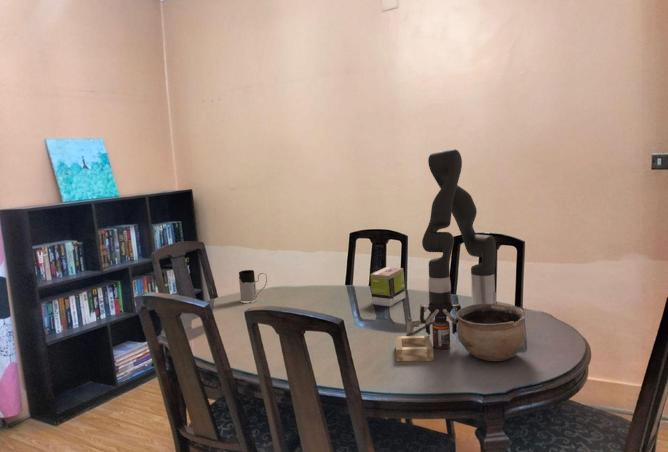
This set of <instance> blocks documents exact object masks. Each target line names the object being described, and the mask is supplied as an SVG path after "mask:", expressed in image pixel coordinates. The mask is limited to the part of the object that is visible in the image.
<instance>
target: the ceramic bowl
mask: <svg viewBox="0 0 668 452" xmlns="http://www.w3.org/2000/svg"><path fill="white" fill-rule="evenodd" d="M455 318H457V319H458V323H457V332H456V333H457V337H458V340H459V342H460V344H461V345H462V346H463V348H464V349H465V350H466V351H467V352H469V353H470V354H471V355H473V356H474V357H476V358H477V359H481V360H483V361H490V362H501V361H502V362H503V361H507V360H509V359H511V358H513V357H514V356H516V355H517V354H518V353H519V352H520V350H521V349H522V348H523V347H524V344H525V342H526V339H527V338H526V337H527V328H526V323H525V319H526V311H524V309H523V308H520V307H517V306H510V305H505V304H499V303H496V304H489V303H484V304H475V305H472V304H471V305H467V306H464V307H461V309H460V310H458V311H456V313H455Z"/></svg>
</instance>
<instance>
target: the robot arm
mask: <svg viewBox="0 0 668 452" xmlns="http://www.w3.org/2000/svg"><path fill="white" fill-rule="evenodd" d="M427 159H428V161H427V162H428V167H429V170H430V172H431V175H432V176H433V178H434V180H435V182H436V184H437V185H438V186H439V188H440V190H438V193H436V195H435V197H434V199H433V201H432V205H431V209H430V210H431V211H430V217H429V218H430V219H429V223H428V225H427V227H426V230H425V231H424V234H423V237H422V243H421V244H422V247H423V250H424V251H425V252H426V253H442V256H440V257H436V258H431V259H429V261H428V304H427V305H423V304H420V306H419V320H420V322H421V323H424V324H423V325H425V333H426V334H427V336H430V335H431V324H430V322H431V320H433V318H435V317H443V316H446V317H447V318H448V319H449V320H450V321H451V333H452V334H453V335H456V333H457V326H458V319H457V317H455V316H454V315H453V314H452V313H451V312H452V310H453V309H454V311H455V312H457V311H458V310H460V309H462V307H461V304H460V303H456V304H452V284H451V283H452V282H451V277H450V276H451V275H450V273H451V272H450V270H451V269H450V263H451V256H452V252H453V249H454V244H455V238H454V235H453V234H452V233H451V232H449V231H440V230H443V229H447V228H449V227H450V226H451V224H452V223H451V221H452V216H453V219H454V220H455V222H456V225H457V227H458V231H459V233H460V235H461V238H462V241H463V244H464V247H465V250H466V253H468V255H469V256H472V257H475V258H476V257H477V258H481V262H480V263H478V264H474V265H472V266H471V267H470V280H471V281H470V282H471V283H470V285H471V286H470V287H471V291H470V293H471V305H475V304H484V303H489V304H497V292H496V289H495V284H496V283H495V269H496V263H497V262H496V260H497V257H496V255H497V254H496V253H497V241H496V239H495V237H494V236H493V235H488V234H478V233H476V231H475V230H474V223H475V219H476V218H477V213H478V212H477V207H476V204H475V202H474V200H473V197H472V195H471V194H470V193H469V192H468V191H467V190H466V189H464V188H463V187H461V186H460V185H459V180H460V176H461V172H462V168H463V167H462V166H463V165H462V164H463V160H462V156H461V153H460V151H459V150H457V149H455V148H454V149H453V148H452V149H445V150H440V151H436V152H433V153H431V154H429V156H428V158H427ZM427 310H428V311H429V313H428V315H427V317H426V318H425V313H427ZM431 323H432V322H431Z"/></svg>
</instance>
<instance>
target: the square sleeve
mask: <svg viewBox="0 0 668 452" xmlns="http://www.w3.org/2000/svg"><path fill="white" fill-rule="evenodd" d="M394 339H395V357H396V362H421V361H422V362H427V361H428V362H429V361H430V362H431V361H434V346H433V342H432V339H431V336H430V335H401V336H400V335H399V336H398V335H397V336H395V337H394Z"/></svg>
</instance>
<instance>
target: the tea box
mask: <svg viewBox="0 0 668 452" xmlns="http://www.w3.org/2000/svg"><path fill="white" fill-rule="evenodd" d="M405 287H406V285H405V272H404V268H403V267H389V266H388V267H387V266H385V267H383V268H380V269H379V270H377V271H374V272H372V273H370V289H371V291H370V292H371V301H372V305H375V306H382V307H383V306H385V307H392V306H393V305H395V304H396V303H398V302H400V301H401V300H403V299H405V298H406V288H405Z"/></svg>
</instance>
